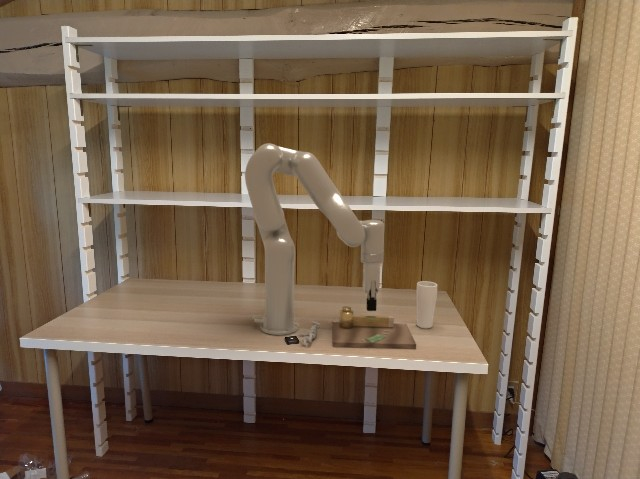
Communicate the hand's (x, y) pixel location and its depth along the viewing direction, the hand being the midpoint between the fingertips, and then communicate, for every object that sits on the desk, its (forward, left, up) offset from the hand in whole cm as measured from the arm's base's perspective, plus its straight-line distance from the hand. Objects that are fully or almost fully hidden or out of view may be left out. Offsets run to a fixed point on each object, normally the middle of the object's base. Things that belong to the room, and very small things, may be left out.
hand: (371, 310), depth 157 cm
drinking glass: (+18, 0, -6) cm, 19 cm away
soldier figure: (-20, -14, -6) cm, 25 cm away
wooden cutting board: (-1, -11, -5) cm, 12 cm away
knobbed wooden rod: (-2, -6, -3) cm, 7 cm away
